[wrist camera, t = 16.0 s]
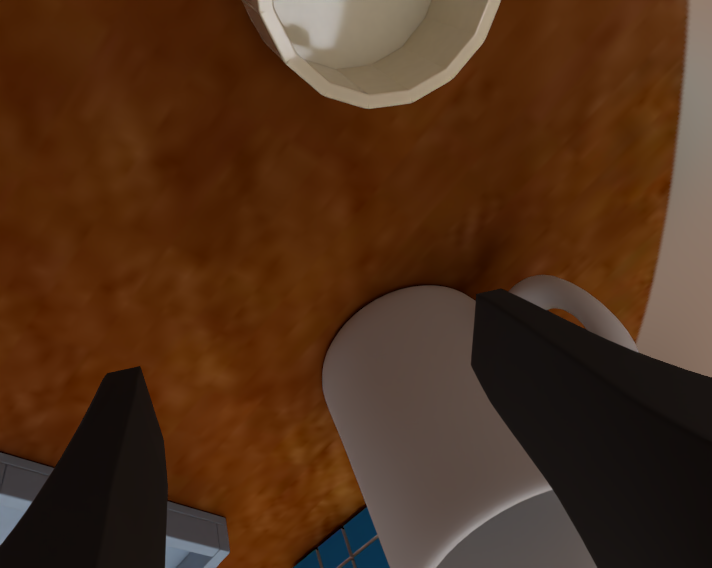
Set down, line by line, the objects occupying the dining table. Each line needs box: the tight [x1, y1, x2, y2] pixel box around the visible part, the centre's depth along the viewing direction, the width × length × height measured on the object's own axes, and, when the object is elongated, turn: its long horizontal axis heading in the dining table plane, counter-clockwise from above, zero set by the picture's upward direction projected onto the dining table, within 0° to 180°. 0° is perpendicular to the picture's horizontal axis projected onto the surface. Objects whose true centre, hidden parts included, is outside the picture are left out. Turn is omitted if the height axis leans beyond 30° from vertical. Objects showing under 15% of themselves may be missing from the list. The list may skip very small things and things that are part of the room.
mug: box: [322, 275, 639, 568], centre depth 22 cm, size 12×8×11 cm
